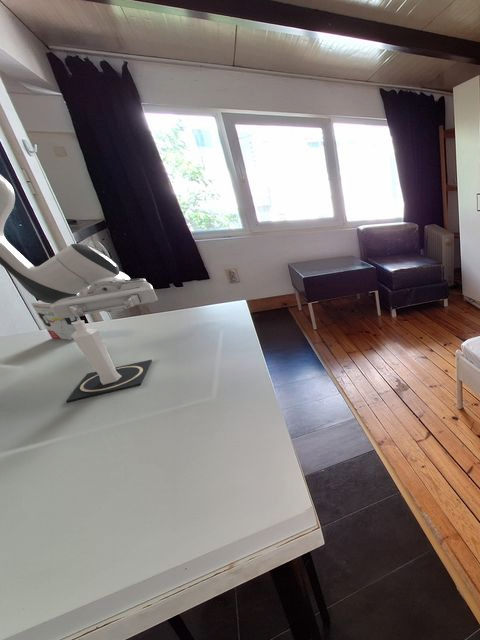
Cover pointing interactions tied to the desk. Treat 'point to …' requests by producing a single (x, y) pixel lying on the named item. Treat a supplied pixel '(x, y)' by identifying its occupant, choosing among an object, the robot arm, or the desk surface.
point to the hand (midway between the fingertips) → (104, 308)
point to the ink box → (55, 321)
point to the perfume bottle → (95, 352)
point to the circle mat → (130, 378)
